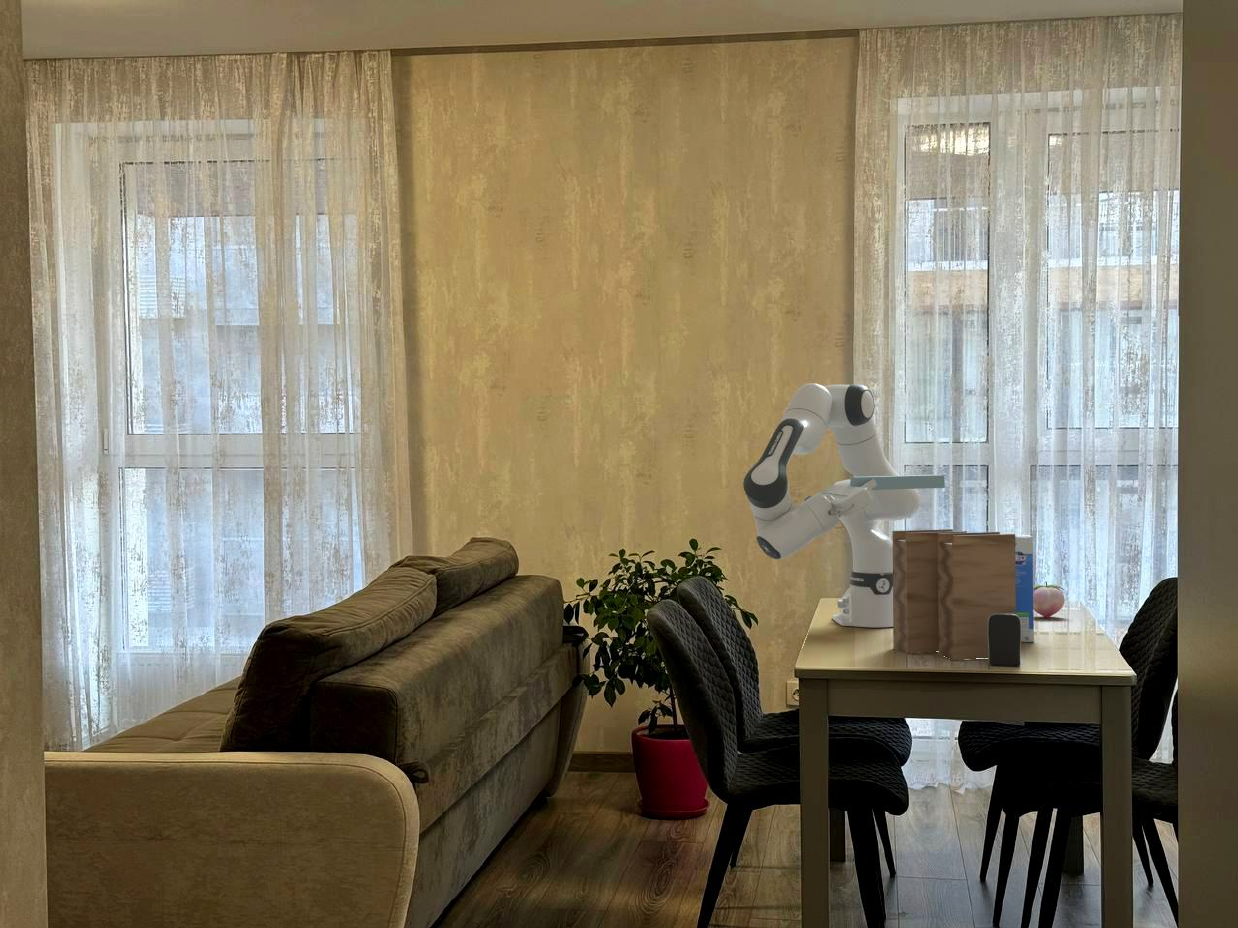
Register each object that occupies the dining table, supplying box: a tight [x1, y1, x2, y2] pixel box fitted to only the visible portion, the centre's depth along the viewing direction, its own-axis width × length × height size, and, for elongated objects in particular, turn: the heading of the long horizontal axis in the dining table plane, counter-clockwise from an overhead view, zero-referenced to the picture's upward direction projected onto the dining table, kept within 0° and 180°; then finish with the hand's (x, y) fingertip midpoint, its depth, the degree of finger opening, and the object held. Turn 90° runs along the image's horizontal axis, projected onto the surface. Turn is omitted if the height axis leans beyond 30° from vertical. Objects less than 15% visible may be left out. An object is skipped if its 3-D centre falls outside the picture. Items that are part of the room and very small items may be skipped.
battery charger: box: [988, 613, 1022, 667], centre depth 279 cm, size 7×4×11 cm, turn 77°
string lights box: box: [1015, 534, 1035, 643], centre depth 313 cm, size 13×8×26 cm, turn 80°
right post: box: [938, 531, 1016, 661], centre depth 290 cm, size 8×15×28 cm, turn 102°
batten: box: [849, 474, 945, 490], centre depth 298 cm, size 4×22×3 cm, turn 102°
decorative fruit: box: [1033, 581, 1066, 619], centre depth 351 cm, size 9×8×10 cm
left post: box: [892, 528, 968, 654], centre depth 300 cm, size 8×15×28 cm, turn 102°
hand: (870, 481), depth 297 cm, fingers closed on batten, 3 cm apart
